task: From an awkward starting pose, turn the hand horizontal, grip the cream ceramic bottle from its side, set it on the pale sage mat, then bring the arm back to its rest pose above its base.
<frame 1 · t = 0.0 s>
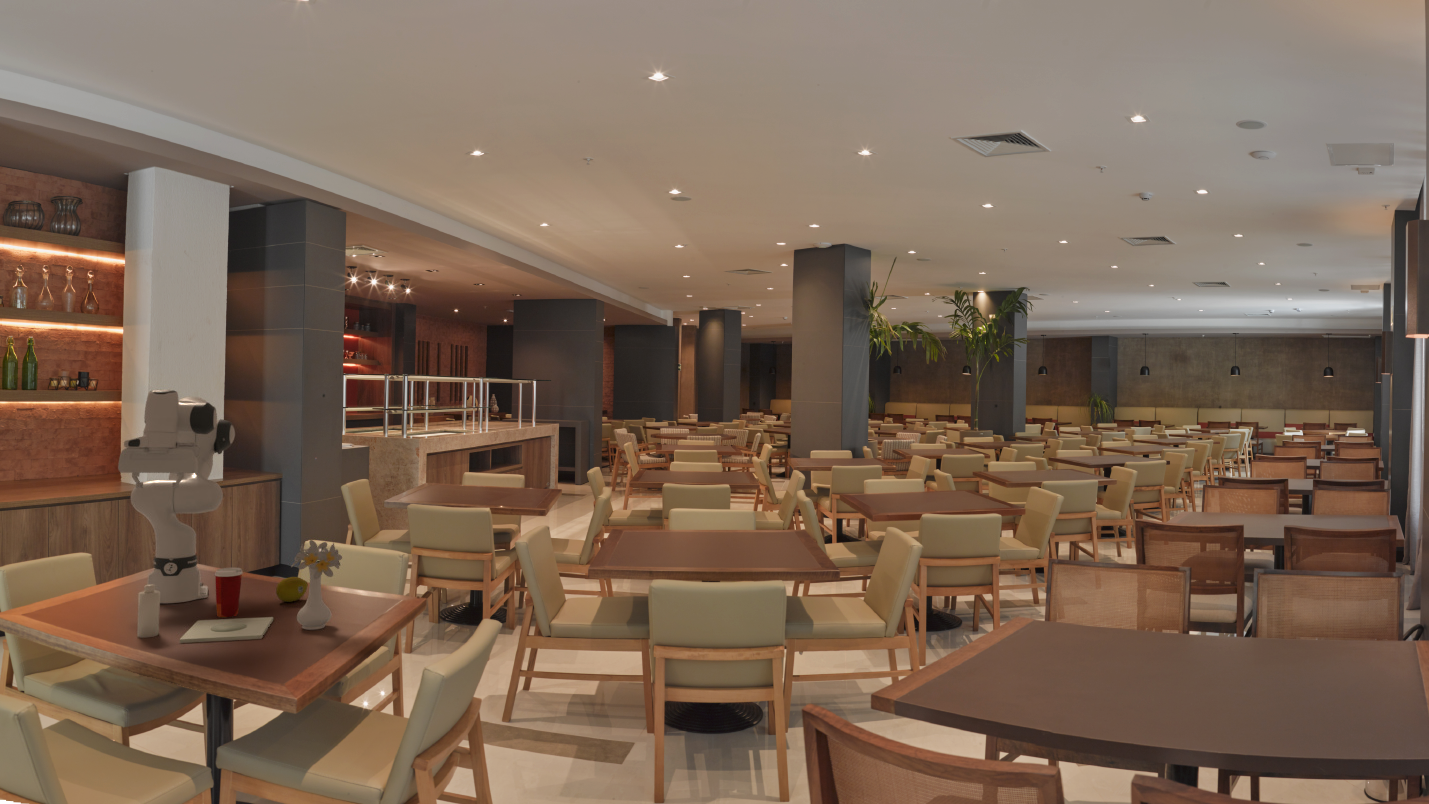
hand: (157, 488, 257), 39 cm above the table, tool pointing down, fingers open, 8 cm apart
flower vase: (316, 628, 252), on the table
paper cup: (227, 615, 262), on the table
cream bottle: (147, 635, 239), on the table
lemon: (291, 601, 281), on the table
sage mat: (228, 631, 245), on the table
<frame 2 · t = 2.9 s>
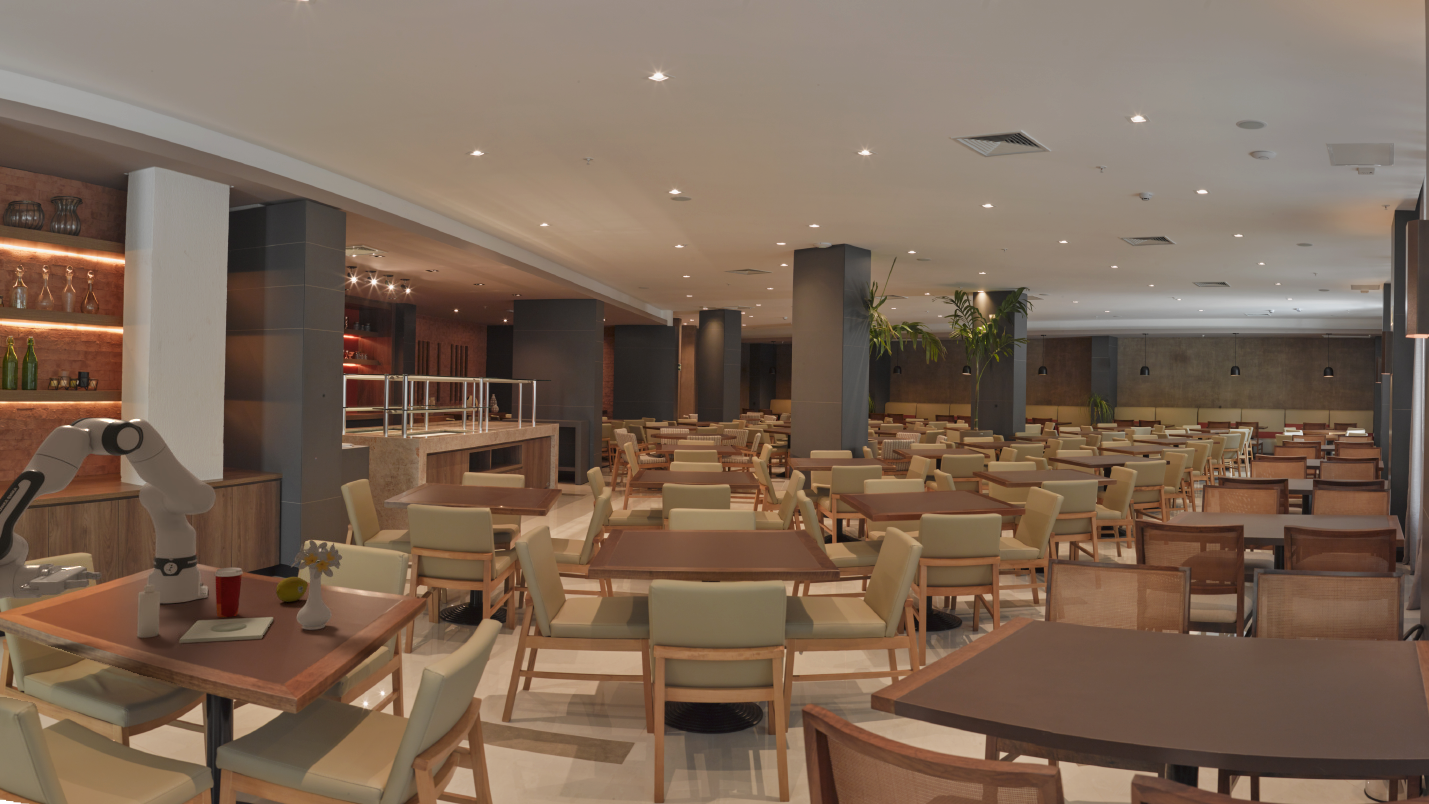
hand: (94, 579, 234), 16 cm above the table, tool horizontal, fingers open, 8 cm apart
nothing on the table moved.
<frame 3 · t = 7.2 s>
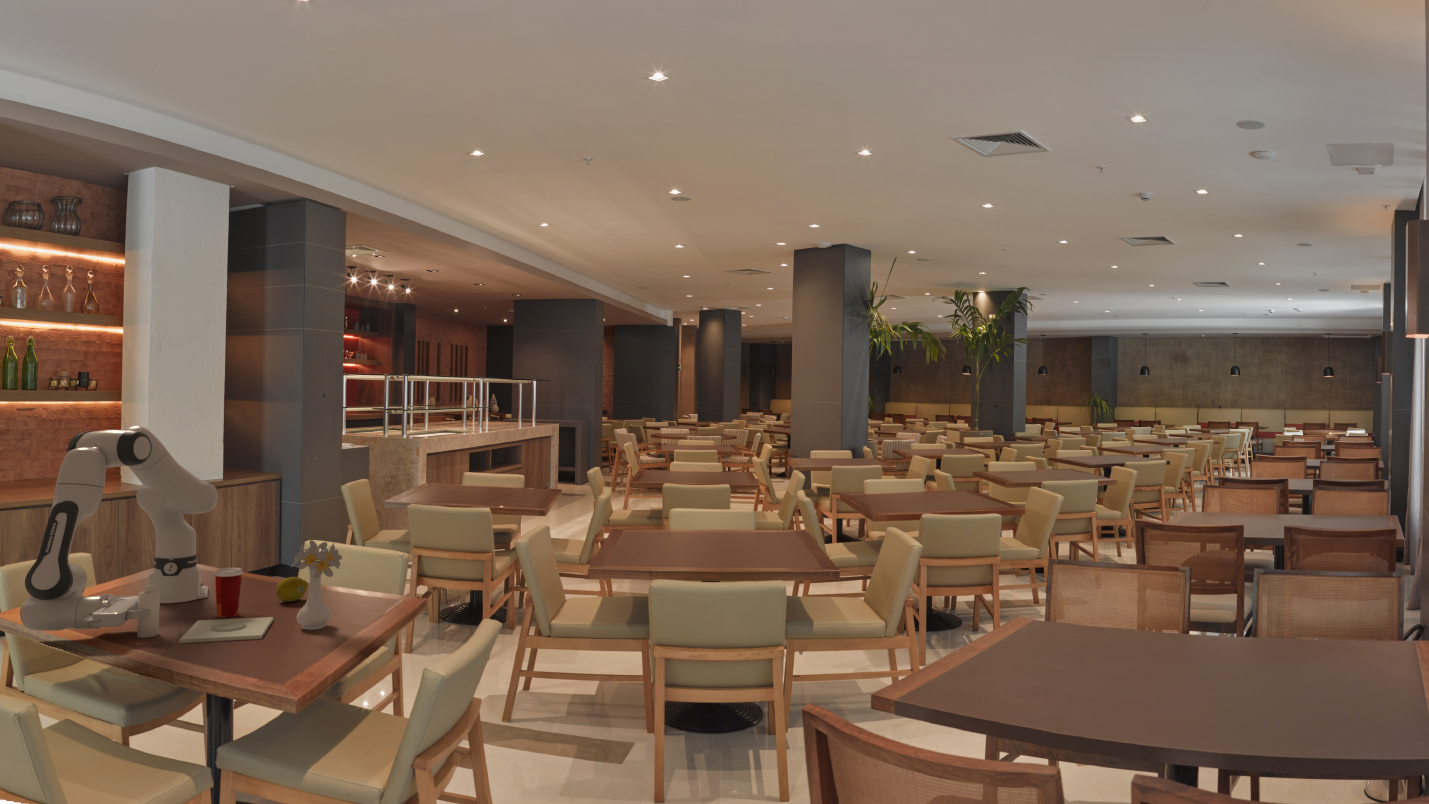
hand: (152, 609, 239), 7 cm above the table, tool horizontal, fingers closed on cream bottle, 5 cm apart
cream bottle: (148, 635, 239), on the table, touching gripper
everything else where it was.
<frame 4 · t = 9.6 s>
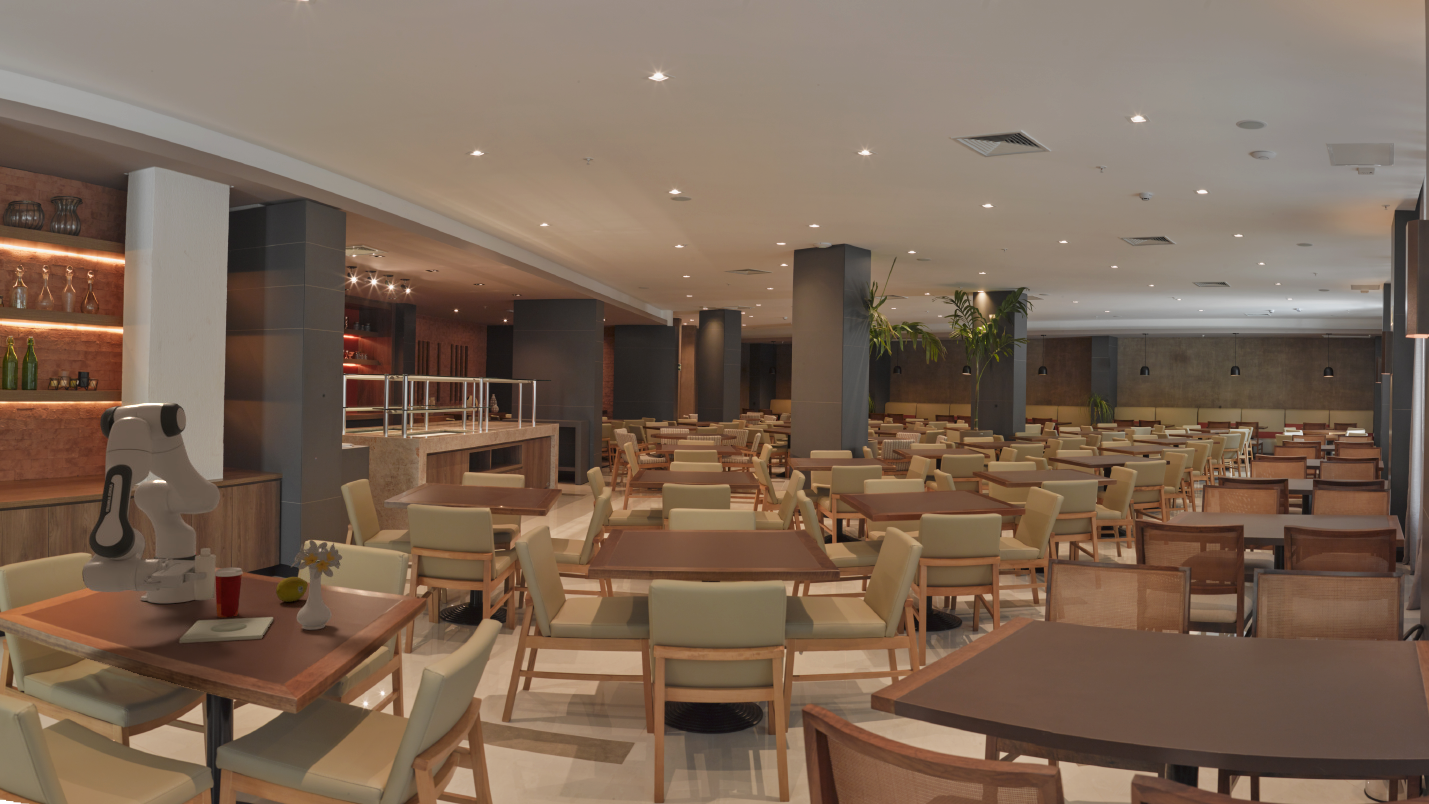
hand: (208, 573, 243), 17 cm above the table, tool horizontal, fingers closed on cream bottle, 5 cm apart
cream bottle: (204, 598, 243), point 10 cm above the table, touching gripper
everything else where it was.
when the fingers open (8 cm above the table, at t = 12.1 s): cream bottle stays where it is, resting on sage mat.
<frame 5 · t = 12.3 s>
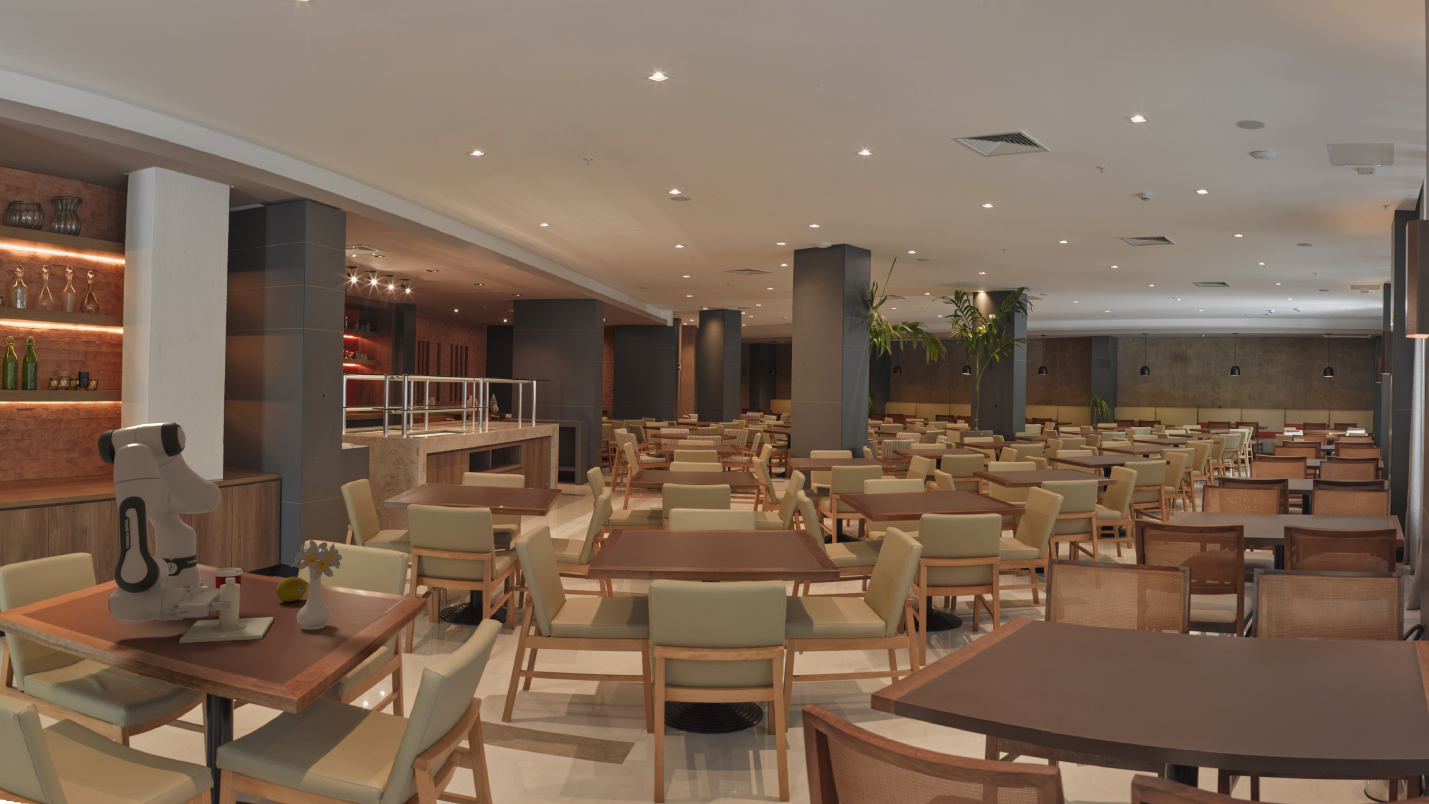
hand: (233, 601, 245), 8 cm above the table, tool horizontal, fingers open, 7 cm apart
cream bottle: (228, 627, 245), point 1 cm above the table, touching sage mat
everything else where it was.
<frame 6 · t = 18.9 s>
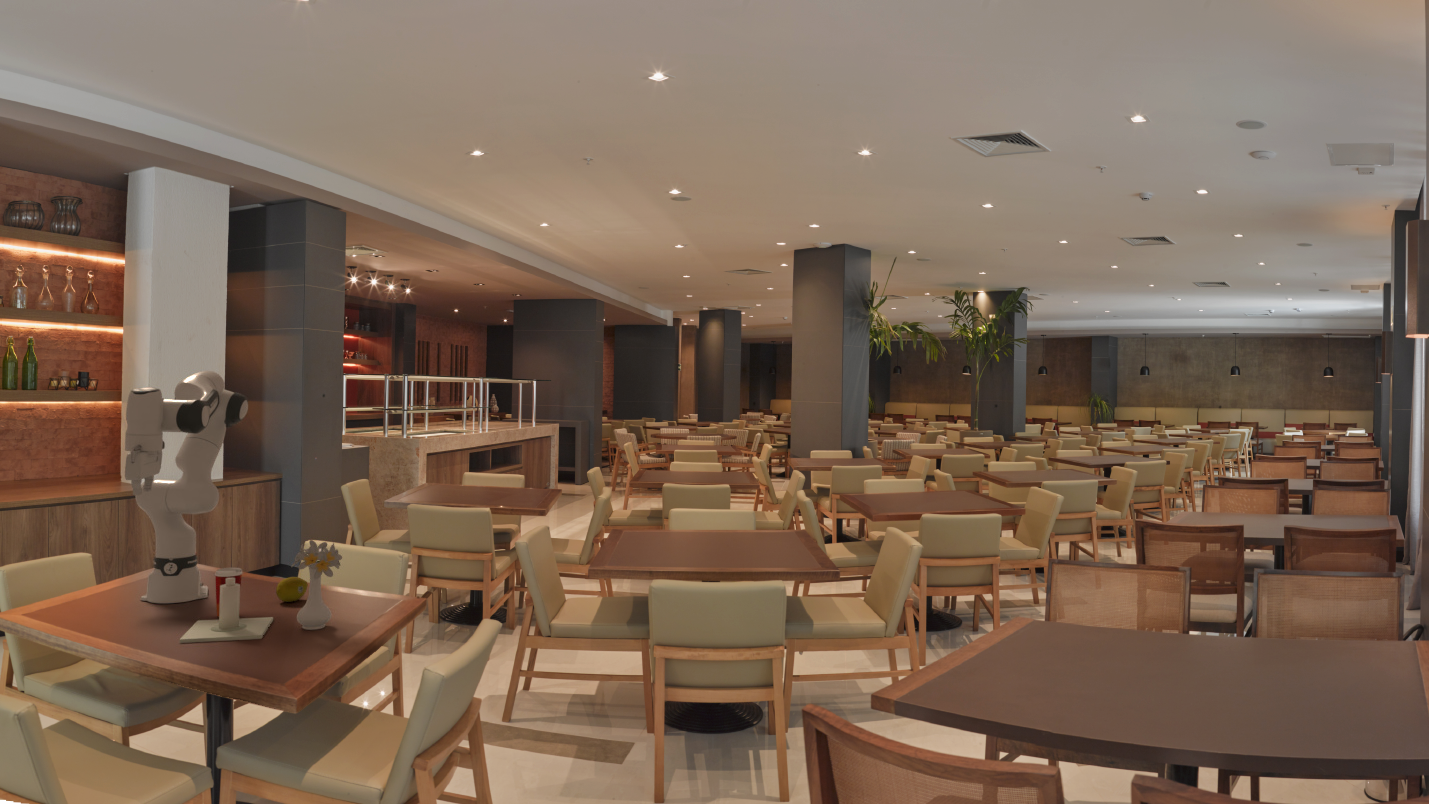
hand: (142, 493, 243), 39 cm above the table, tool pointing down, fingers open, 8 cm apart
nothing on the table moved.
at the end: cream bottle inside the target area on the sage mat (0.0 cm from its centre), point 1.2 cm above the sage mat's base; cream bottle tilted 0°; paper cup moved 0.2 cm from its start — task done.
